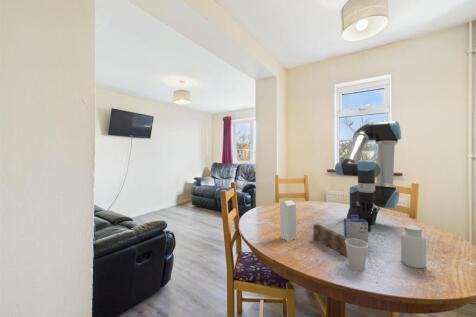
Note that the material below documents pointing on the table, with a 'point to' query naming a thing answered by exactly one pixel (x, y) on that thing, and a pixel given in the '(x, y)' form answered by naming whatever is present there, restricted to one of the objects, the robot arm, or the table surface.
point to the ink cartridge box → (356, 228)
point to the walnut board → (330, 239)
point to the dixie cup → (356, 253)
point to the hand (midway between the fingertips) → (366, 237)
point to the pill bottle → (413, 247)
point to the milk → (288, 219)
